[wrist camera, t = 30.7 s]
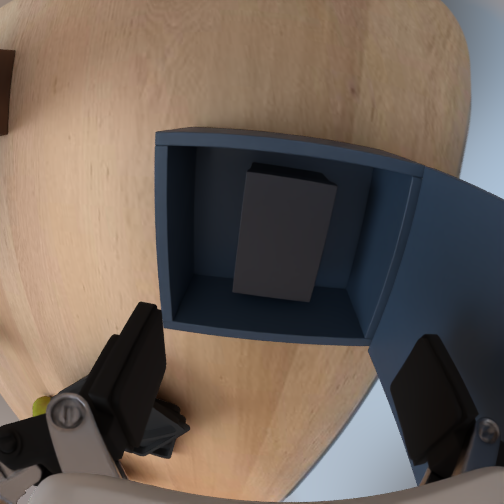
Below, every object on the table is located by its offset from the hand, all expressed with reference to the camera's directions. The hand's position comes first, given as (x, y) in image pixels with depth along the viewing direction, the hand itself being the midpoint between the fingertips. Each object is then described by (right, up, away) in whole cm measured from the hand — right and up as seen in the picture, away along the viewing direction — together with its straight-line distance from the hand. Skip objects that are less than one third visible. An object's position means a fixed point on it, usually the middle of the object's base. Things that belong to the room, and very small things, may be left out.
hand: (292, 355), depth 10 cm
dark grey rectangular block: (+1, +6, +14) cm, 16 cm away
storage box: (+1, +7, +15) cm, 16 cm away
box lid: (+8, -1, 0) cm, 8 cm away
